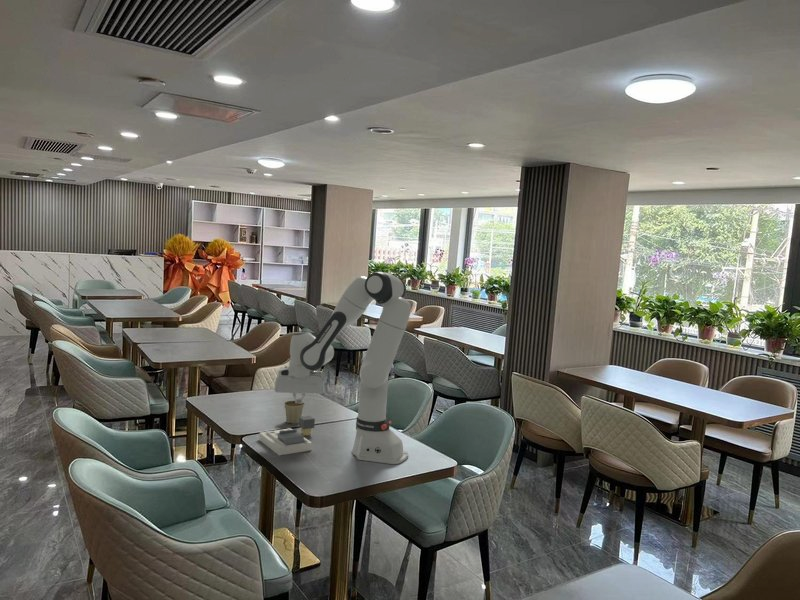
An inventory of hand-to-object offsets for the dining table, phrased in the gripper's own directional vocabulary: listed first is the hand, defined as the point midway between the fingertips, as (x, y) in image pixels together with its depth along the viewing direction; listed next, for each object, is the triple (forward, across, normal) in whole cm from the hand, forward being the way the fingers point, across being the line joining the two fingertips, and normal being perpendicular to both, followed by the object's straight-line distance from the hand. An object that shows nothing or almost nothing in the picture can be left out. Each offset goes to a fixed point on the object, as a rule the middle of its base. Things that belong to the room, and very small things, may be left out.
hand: (298, 403), depth 244 cm
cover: (+11, +2, +14) cm, 18 cm away
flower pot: (+15, +4, -22) cm, 27 cm away
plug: (+15, -3, -5) cm, 16 cm away
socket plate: (+15, +4, +10) cm, 18 cm away
